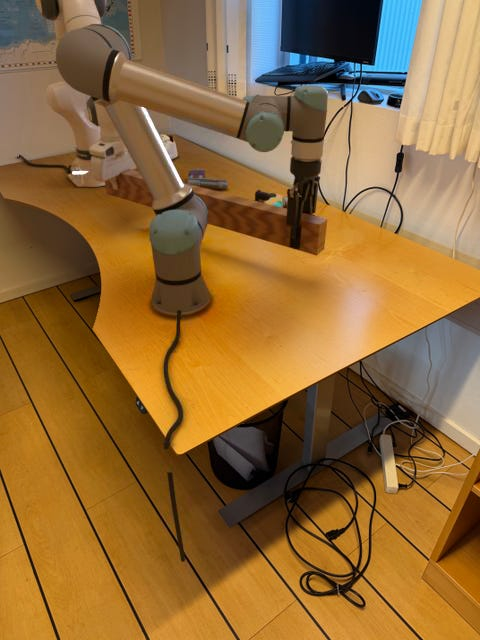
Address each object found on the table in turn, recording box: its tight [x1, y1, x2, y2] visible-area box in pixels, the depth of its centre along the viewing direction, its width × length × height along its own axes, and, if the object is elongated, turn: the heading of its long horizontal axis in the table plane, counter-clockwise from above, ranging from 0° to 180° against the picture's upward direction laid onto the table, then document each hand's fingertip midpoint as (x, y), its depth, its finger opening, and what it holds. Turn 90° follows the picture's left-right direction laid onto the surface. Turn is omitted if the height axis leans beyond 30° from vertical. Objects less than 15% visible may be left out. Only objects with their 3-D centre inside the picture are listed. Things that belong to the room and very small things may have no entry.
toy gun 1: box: [185, 168, 229, 190], centre depth 195 cm, size 4×19×15 cm
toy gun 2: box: [254, 189, 288, 208], centre depth 172 cm, size 4×26×15 cm
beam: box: [104, 169, 328, 256], centre depth 142 cm, size 79×4×9 cm, turn 55°
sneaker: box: [159, 133, 179, 161], centre depth 214 cm, size 10×29×12 cm, turn 163°
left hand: (122, 186), depth 158 cm, fingers closed on beam, 4 cm apart
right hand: (299, 244), depth 128 cm, fingers closed on beam, 4 cm apart
